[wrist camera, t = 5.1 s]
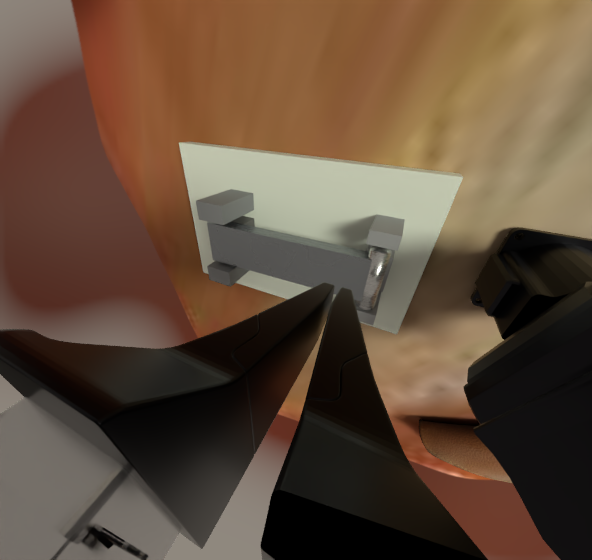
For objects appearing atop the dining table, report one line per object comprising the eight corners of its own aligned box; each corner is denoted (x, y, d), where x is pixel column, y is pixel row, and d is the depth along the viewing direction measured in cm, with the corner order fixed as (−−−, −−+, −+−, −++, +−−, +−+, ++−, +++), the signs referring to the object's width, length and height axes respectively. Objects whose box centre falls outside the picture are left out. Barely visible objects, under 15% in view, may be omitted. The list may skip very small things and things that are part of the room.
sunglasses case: (438, 458, 32) (432, 496, 26) (423, 403, 33) (414, 428, 27) (662, 492, 22) (727, 564, 16) (629, 410, 23) (681, 452, 17)
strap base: (459, 173, 16) (477, 192, 11) (397, 324, 24) (393, 372, 19) (190, 141, 23) (133, 145, 18) (211, 266, 31) (174, 291, 26)
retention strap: (392, 247, 16) (390, 256, 15) (375, 301, 19) (373, 312, 18) (215, 211, 21) (205, 215, 20) (222, 259, 23) (212, 266, 22)
